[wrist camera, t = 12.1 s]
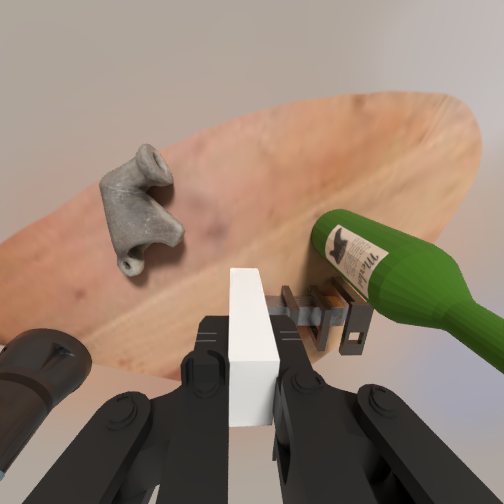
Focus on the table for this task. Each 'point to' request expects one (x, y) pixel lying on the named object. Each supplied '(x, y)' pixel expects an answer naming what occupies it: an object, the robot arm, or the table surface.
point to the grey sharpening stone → (309, 309)
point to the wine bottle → (408, 280)
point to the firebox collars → (354, 322)
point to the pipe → (138, 209)
